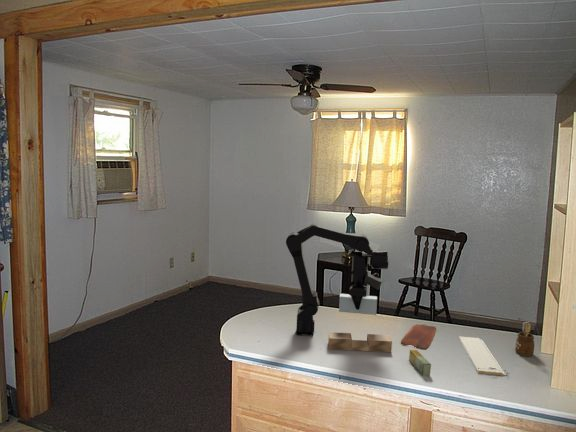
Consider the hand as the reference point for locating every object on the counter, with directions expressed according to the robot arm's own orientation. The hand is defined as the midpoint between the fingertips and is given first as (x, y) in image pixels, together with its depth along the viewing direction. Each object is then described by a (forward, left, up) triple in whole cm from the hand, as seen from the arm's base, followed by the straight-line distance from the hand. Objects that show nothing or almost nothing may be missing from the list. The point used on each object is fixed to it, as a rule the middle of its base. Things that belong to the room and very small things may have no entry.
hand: (357, 307), depth 180 cm
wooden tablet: (+25, +3, -12) cm, 28 cm away
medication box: (+18, -26, -11) cm, 34 cm away
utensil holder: (+59, -10, -11) cm, 61 cm away
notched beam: (0, -12, -11) cm, 16 cm away
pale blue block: (0, 0, -2) cm, 2 cm away
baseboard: (+43, -13, -12) cm, 46 cm away
